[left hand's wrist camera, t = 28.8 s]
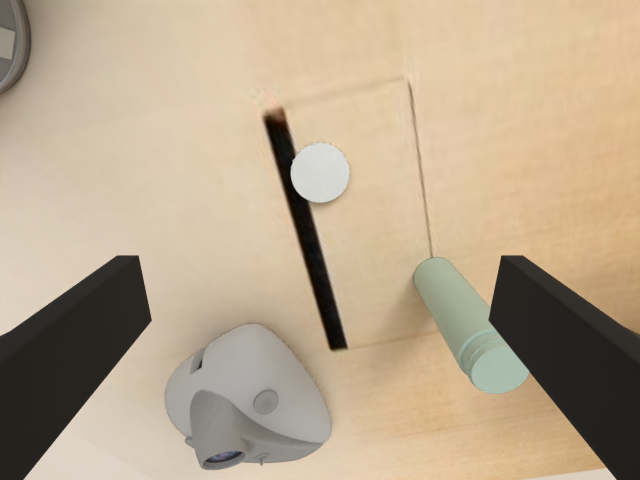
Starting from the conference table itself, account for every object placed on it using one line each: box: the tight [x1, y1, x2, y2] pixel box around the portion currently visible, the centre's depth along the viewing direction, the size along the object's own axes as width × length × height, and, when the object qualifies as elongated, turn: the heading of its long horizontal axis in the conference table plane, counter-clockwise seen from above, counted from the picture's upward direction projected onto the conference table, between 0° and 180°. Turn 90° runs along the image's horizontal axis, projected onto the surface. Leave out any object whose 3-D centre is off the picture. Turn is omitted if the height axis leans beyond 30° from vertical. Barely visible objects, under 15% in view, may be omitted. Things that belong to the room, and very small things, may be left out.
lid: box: [291, 141, 350, 203], centre depth 38 cm, size 6×6×2 cm
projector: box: [165, 324, 332, 470], centre depth 42 cm, size 22×23×15 cm
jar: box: [414, 257, 529, 394], centre depth 35 cm, size 5×5×17 cm
